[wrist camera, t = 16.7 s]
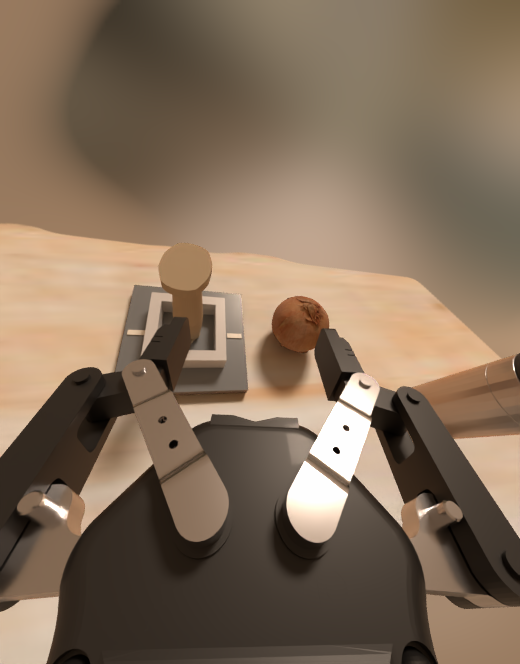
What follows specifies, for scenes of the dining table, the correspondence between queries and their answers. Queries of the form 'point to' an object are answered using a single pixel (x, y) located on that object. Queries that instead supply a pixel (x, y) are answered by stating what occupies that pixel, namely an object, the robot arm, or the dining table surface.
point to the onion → (299, 323)
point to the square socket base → (205, 352)
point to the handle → (186, 281)
